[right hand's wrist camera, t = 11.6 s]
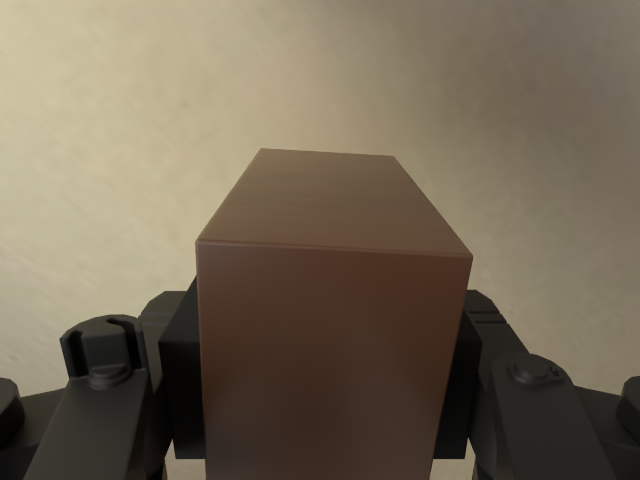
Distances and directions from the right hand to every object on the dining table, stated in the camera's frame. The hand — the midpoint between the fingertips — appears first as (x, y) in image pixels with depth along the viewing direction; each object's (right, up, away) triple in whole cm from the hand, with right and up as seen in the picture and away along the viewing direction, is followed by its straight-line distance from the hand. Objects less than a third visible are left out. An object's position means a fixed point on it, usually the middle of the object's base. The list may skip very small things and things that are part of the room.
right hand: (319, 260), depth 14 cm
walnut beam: (0, -9, +4) cm, 10 cm away
